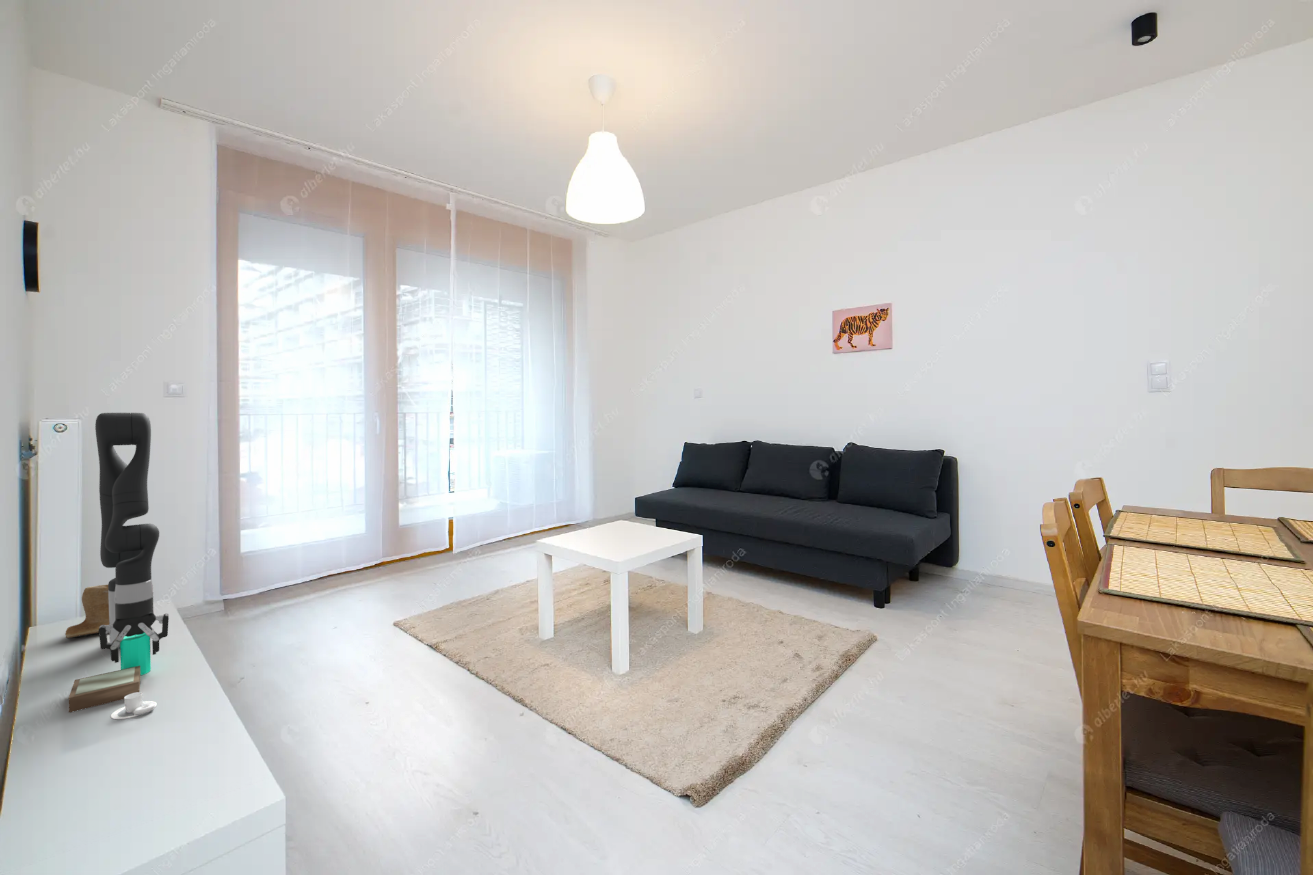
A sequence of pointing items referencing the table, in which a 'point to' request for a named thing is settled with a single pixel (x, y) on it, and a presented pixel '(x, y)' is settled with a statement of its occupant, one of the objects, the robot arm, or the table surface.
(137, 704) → the teacup and saucer
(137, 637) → the candle
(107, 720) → the table surface
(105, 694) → the framed mirror
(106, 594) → the brown suede boot
